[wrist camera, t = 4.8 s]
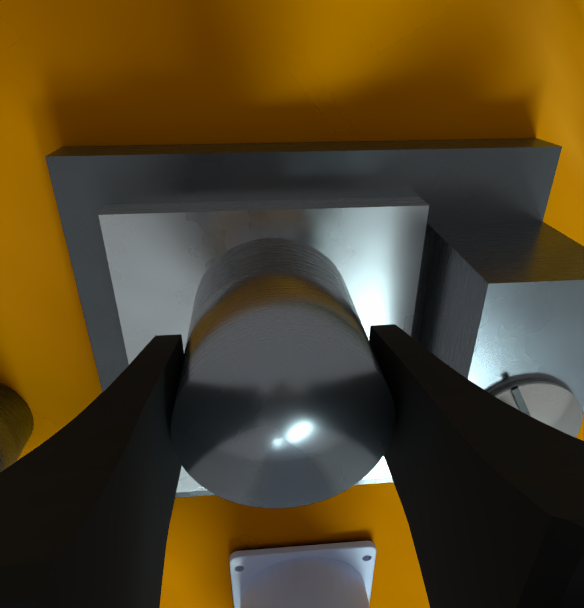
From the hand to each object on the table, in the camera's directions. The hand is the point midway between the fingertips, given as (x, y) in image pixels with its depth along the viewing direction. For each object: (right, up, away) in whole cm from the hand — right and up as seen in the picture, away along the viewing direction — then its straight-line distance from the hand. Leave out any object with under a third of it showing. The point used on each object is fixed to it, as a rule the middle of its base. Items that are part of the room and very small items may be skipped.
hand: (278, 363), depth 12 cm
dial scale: (+1, 0, +8) cm, 8 cm away
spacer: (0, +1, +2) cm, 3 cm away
